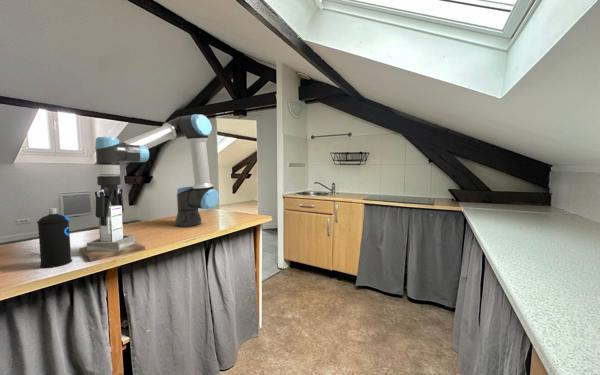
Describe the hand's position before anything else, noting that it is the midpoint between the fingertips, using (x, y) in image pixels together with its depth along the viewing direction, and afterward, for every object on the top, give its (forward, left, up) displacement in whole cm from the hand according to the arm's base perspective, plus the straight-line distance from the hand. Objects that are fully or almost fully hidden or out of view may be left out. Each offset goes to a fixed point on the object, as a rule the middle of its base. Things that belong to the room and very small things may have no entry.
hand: (111, 231), depth 102 cm
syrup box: (0, 0, -4) cm, 4 cm away
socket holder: (0, 0, -8) cm, 8 cm away
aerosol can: (+17, +2, -8) cm, 19 cm away
